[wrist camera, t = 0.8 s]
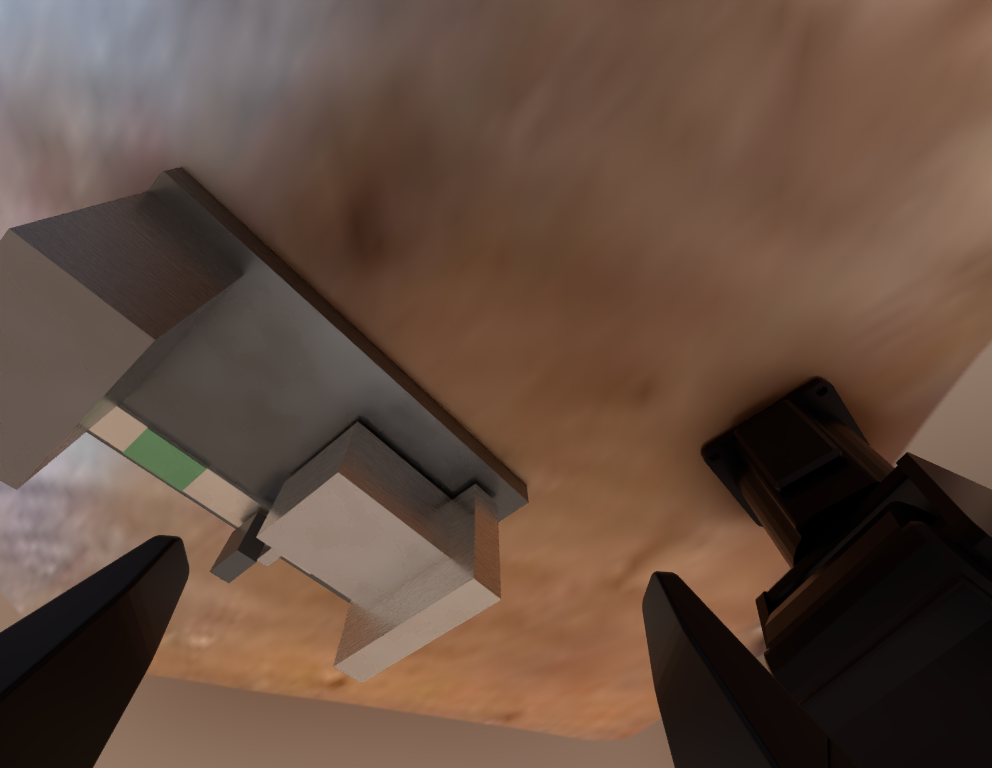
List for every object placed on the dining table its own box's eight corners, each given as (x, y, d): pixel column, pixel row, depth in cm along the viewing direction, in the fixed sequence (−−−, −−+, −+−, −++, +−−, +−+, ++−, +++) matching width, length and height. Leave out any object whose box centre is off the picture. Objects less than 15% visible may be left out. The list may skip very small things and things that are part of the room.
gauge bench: (526, 486, 26) (540, 607, 20) (366, 593, 30) (336, 725, 24) (181, 167, 19) (28, 200, 12) (22, 362, 22) (-159, 465, 16)
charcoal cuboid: (275, 522, 25) (256, 562, 23) (249, 543, 25) (228, 583, 23) (258, 511, 24) (237, 550, 22) (232, 532, 25) (209, 571, 23)
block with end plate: (497, 502, 25) (501, 599, 20) (358, 596, 28) (332, 700, 23) (381, 401, 22) (353, 486, 17) (240, 518, 25) (182, 618, 20)
